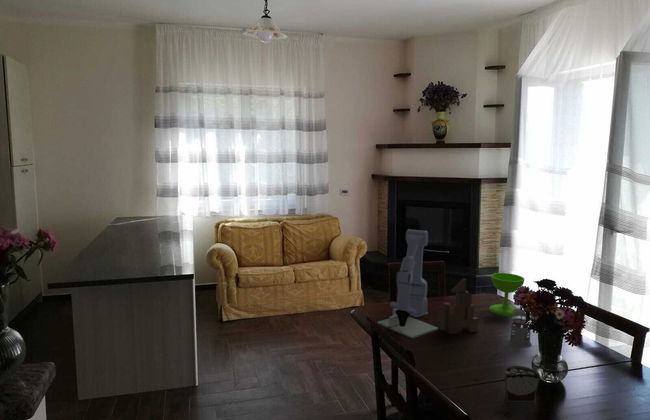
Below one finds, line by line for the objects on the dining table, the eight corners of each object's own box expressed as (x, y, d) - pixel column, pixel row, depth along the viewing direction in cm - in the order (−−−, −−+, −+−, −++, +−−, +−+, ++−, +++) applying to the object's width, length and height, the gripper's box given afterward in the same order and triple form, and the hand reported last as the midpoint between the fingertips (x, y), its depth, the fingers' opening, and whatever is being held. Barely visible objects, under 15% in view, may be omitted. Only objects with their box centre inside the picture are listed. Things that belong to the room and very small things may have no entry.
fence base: (394, 317, 233) (394, 307, 232) (405, 322, 227) (406, 312, 226) (392, 318, 232) (392, 308, 231) (404, 323, 226) (404, 312, 225)
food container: (530, 392, 167) (532, 365, 165) (538, 401, 160) (541, 373, 159) (495, 392, 166) (497, 364, 165) (502, 401, 160) (504, 373, 159)
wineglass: (482, 307, 253) (484, 274, 251) (507, 304, 258) (510, 272, 256) (502, 317, 238) (504, 282, 236) (528, 314, 243) (531, 280, 240)
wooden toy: (469, 326, 226) (473, 275, 222) (477, 331, 219) (481, 279, 216) (439, 328, 222) (442, 276, 219) (446, 334, 216) (450, 280, 212)
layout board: (402, 315, 238) (403, 314, 238) (438, 329, 221) (438, 327, 221) (376, 323, 227) (377, 321, 227) (412, 338, 210) (412, 337, 210)
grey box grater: (506, 344, 206) (510, 288, 203) (509, 335, 216) (513, 281, 213) (531, 349, 202) (535, 292, 198) (533, 339, 212) (538, 285, 208)
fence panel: (401, 321, 227) (402, 312, 226) (403, 322, 226) (404, 313, 225) (389, 326, 221) (389, 316, 220) (391, 327, 220) (391, 317, 219)
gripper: (386, 294, 220) (384, 322, 221) (409, 303, 208) (408, 333, 210) (396, 291, 224) (395, 319, 226) (420, 300, 213) (419, 329, 214)
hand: (402, 326), depth 218 cm, fingers closed
